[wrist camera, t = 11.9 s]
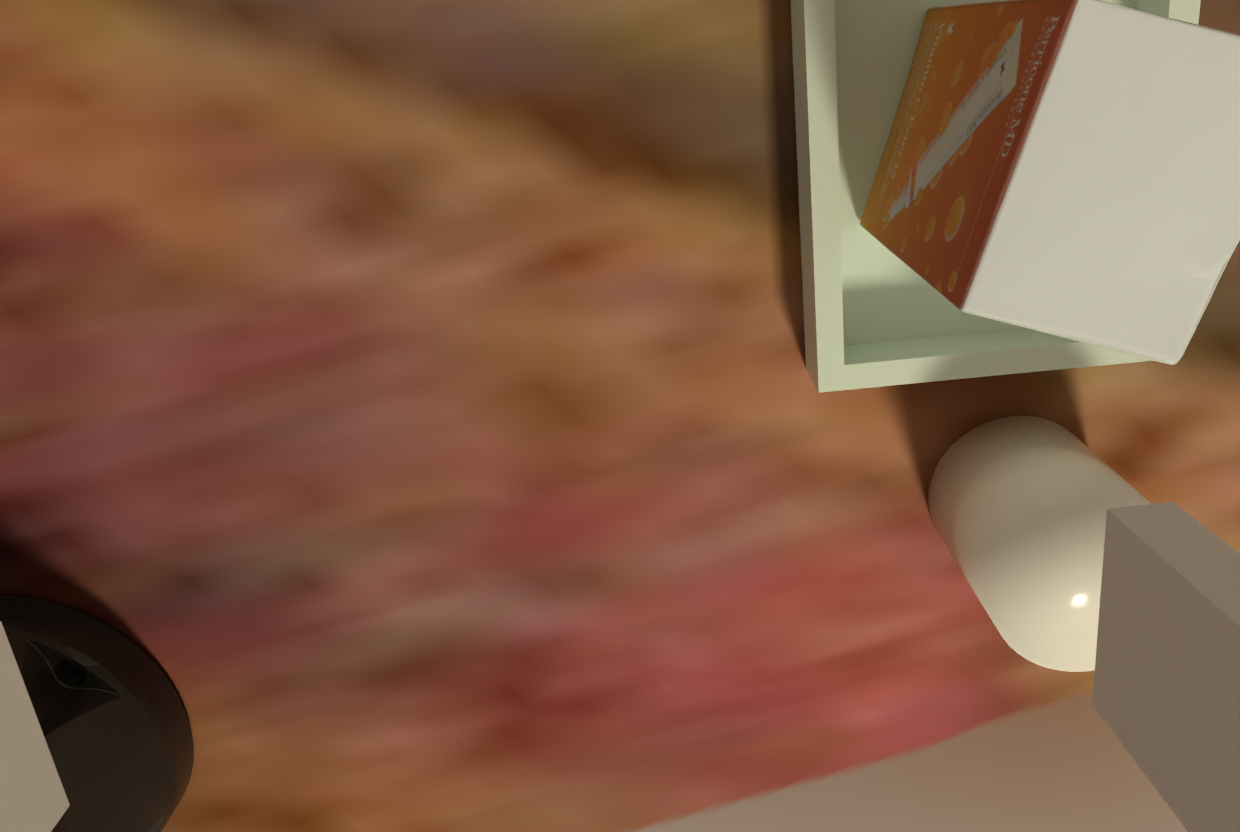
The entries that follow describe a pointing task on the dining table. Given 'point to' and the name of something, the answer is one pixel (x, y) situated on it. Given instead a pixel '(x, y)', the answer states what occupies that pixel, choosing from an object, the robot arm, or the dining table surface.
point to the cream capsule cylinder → (1030, 532)
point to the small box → (1067, 169)
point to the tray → (836, 198)
